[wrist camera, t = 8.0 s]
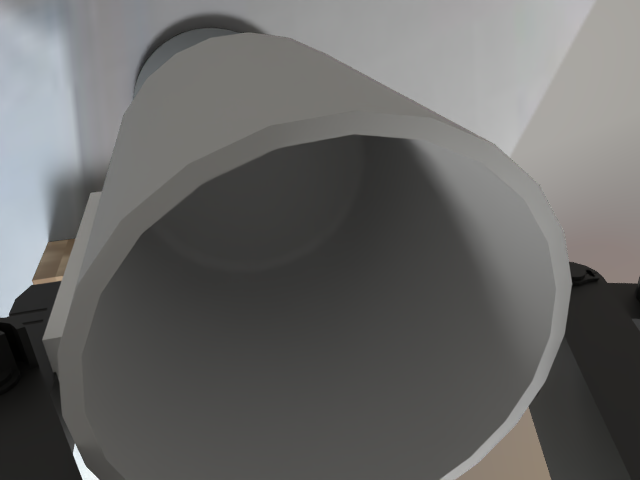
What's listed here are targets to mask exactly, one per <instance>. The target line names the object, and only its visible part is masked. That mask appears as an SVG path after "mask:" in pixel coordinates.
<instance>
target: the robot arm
mask: <svg viewBox="0 0 640 480" xmlns="http://www.w3.org/2000/svg"><path fill="white" fill-rule="evenodd" d="M101 193H102V191H101V192H92V193H90V196H89V199H88V202H87V205H86V208H85V211H84V214H83V218H82V221H81V224H80V227H79V230H78V233H77V236H76V239H75V242H74V245H73V248H72V251H71V254H70V257H69V260H68V263H67V266H66V269H65V272H64V275H63V278H62V281H56V282H49V283H42V284H36V285H31V286H30V287H29V288H28V289H27V290H25V291H24V292H23V293H22V294H21V295H20V296H19V297H18V298H16V299H15V302H14V304H13V306H12V308H11V311H10V313H9V317H7V318H0V480H82V477H81V475H80V472H79V469H78V467H77V464H76V462H75V459H74V456H73V449H74V444H75V442H74V440H73V437H72V435H71V433H70V431H69V429H68V427H67V425H66V423H65V421H64V418H63V416H62V408H61V396H60V383H59V370H58V358H57V353H58V349H59V345H60V342H61V338H62V335H63V331H64V327H65V324H66V320H67V316H68V313H69V309H70V306H71V302H72V298H73V295H74V291H75V287H76V284H77V280H78V277H79V273H80V269H81V266H82V262H83V258H84V255H85V251H86V248H87V244H88V240H89V237H90V233H91V229H92V226H93V222H94V219H95V215H96V211H97V208H98V204H99V200H100V197H101ZM569 266H570V273H571V279H572V288H571V294H570V301H569V308H568V315H567V322H566V329H565V334H564V337H563V339H562V342H561V344H560V347H559V349H558V352H557V354H556V357H555V359H554V361H553V364H552V366H551V369H550V371H549V374H548V376H547V379H546V381H545V383H544V384H543V386H542V387H541V389H540V390H539V392H538V393H537V394H536V396H535V397H534V399H533V400H532V402H531V403H530V405H529V409H530V412H531V416H532V419H533V422H534V425H535V428H536V432H537V435H538V438H539V441H540V444H541V447H542V451H543V454H544V457H545V461H546V464H547V467H548V470H549V473H550V477H551V479H552V480H640V277H639V281H638V284H632V283H631V284H630V283H629V284H628V283H607V282H606V281H605V279H604V278H603V277H602V276H601V275H600V274H599V273H598V272H597V271H595V270H593V269H591V268H589V267H587V266H584V265H581V264H577V263H574V262H569Z"/></svg>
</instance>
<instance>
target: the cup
mask: <svg viewBox="0 0 640 480" xmlns="http://www.w3.org/2000/svg"><path fill="white" fill-rule="evenodd" d="M571 288H572V279H571V273H570V266H569V260H568V253H567V248H566V240H565V234H564V231H563V229H562V227H561V225H560V223H559V221H558V219H557V218H556V216H555V214H554V212H553V210H552V208H551V206H550V204H549V202H548V200H547V198H546V196H545V195H544V193H543V191H542V189H541V187H540V185H539V184H538V183H537V182H536V181H535V180H534V179H533V178H532V177H530V176H529V175H528V174H527V173H526V172H525V171H524V170H523V169H522V168H521V167H519V166H518V165H517V164H516V163H515V162H514V161H513V160H512V159H511V158H509V157H508V156H507V155H506V154H505V153H504V152H503V151H502V150H501V149H499V148H498V147H497V146H496V145H495V144H493V143H491V142H489V141H487V140H486V139H484V138H482V137H480V136H478V135H476V134H474V133H473V132H471V131H469V130H467V129H465V128H463V127H461V126H460V125H458V124H456V123H454V122H452V121H450V120H448V119H446V118H445V117H443V116H441V115H439V114H437V113H435V112H433V111H432V110H430V109H428V108H426V107H424V106H422V105H420V104H418V103H417V102H415V101H413V100H411V99H409V98H407V97H405V96H404V95H402V94H400V93H398V92H396V91H394V90H392V89H390V88H389V87H387V86H385V85H383V84H381V83H379V82H377V81H376V80H374V79H372V78H370V77H368V76H366V75H364V74H362V73H361V72H359V71H357V70H355V69H353V68H351V67H349V66H348V65H346V64H344V63H342V62H340V61H338V60H336V59H334V58H333V57H331V56H329V55H327V54H325V53H323V52H321V51H318V50H316V49H314V48H311V47H309V46H307V45H305V44H302V43H300V42H298V41H296V40H293V39H291V38H286V37H280V36H272V35H265V34H257V33H249V32H247V33H240V34H233V35H226V36H219V37H212V38H209V39H207V40H204V41H202V42H200V43H198V44H196V45H194V46H191V47H189V48H187V49H185V50H183V51H181V52H178V53H176V54H175V55H174V56H172V57H171V58H170V59H169V60H168V61H167V62H165V63H164V64H163V65H162V66H161V67H160V68H159V69H157V70H156V71H155V72H154V73H153V74H152V75H150V76H149V77H148V78H147V79H146V81H145V82H144V84H143V85H142V87H141V89H140V90H139V92H138V93H137V95H136V96H135V98H134V100H133V101H132V103H131V104H130V106H129V107H128V109H127V111H126V112H125V114H124V115H123V118H122V122H121V125H120V129H119V132H118V136H117V139H116V143H115V146H114V150H113V153H112V157H111V161H110V164H109V168H108V171H107V175H106V179H105V182H104V186H103V190H102V193H101V197H100V200H99V204H98V208H97V211H96V215H95V219H94V222H93V226H92V229H91V233H90V237H89V240H88V244H87V248H86V251H85V255H84V258H83V262H82V266H81V269H80V273H79V277H78V280H77V284H76V287H75V291H74V295H73V298H72V302H71V306H70V309H69V313H68V316H67V320H66V324H65V327H64V331H63V335H62V338H61V342H60V345H59V349H58V353H57V358H58V370H59V383H60V396H61V408H62V416H63V418H64V421H65V423H66V425H67V427H68V429H69V431H70V433H71V435H72V437H73V440H74V442H75V444H76V446H77V448H78V450H79V452H80V454H81V457H82V459H83V461H84V463H85V465H86V467H87V468H88V469H89V470H90V471H91V472H92V473H93V474H94V475H95V476H96V477H97V478H98V479H99V480H455V479H457V478H458V477H459V476H461V475H462V474H463V473H465V472H466V471H468V470H469V469H470V468H472V467H473V466H475V465H476V464H477V463H479V462H480V460H482V459H483V458H484V457H485V456H486V455H487V453H488V452H489V451H490V450H491V449H492V448H493V447H494V446H495V445H496V444H497V443H498V442H499V441H500V440H501V439H502V438H503V437H504V436H505V435H506V434H507V433H508V432H509V431H510V430H511V429H512V428H513V427H514V426H515V425H516V424H517V422H518V421H519V419H520V418H521V416H522V415H523V413H524V412H525V411H526V409H527V408H528V406H529V405H530V403H531V402H532V400H533V399H534V397H535V396H536V394H537V393H538V392H539V390H540V389H541V387H542V386H543V384H544V383H545V381H546V379H547V376H548V374H549V371H550V369H551V366H552V364H553V361H554V359H555V357H556V354H557V352H558V349H559V347H560V344H561V342H562V339H563V337H564V334H565V329H566V322H567V315H568V308H569V301H570V294H571Z"/></svg>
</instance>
